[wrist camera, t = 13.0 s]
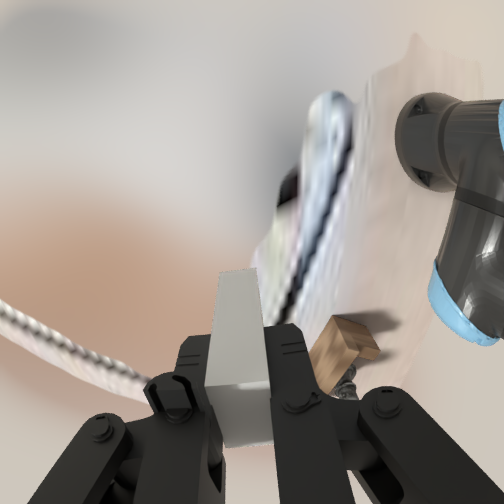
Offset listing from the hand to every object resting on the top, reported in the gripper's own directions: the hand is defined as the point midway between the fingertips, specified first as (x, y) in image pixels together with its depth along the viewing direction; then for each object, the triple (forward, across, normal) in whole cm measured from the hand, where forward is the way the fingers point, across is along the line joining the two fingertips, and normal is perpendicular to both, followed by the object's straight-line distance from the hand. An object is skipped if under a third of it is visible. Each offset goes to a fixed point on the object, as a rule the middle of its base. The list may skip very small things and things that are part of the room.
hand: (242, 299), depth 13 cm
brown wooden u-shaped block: (+29, +10, -31) cm, 44 cm away
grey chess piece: (+30, +12, -32) cm, 45 cm away
